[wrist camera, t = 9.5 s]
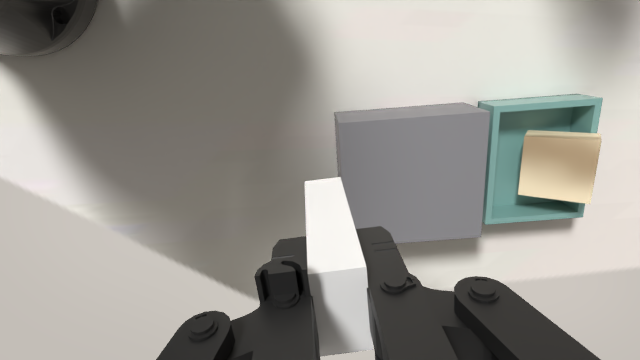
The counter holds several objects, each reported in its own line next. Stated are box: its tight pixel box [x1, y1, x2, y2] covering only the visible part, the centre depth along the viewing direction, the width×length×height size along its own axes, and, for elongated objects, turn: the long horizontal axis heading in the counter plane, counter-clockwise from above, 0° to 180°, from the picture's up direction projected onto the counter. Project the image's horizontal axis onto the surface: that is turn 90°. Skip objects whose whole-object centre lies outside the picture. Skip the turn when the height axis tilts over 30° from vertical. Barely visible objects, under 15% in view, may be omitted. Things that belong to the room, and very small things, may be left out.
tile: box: [518, 130, 601, 204], centre depth 37 cm, size 6×6×3 cm
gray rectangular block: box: [334, 103, 490, 244], centre depth 37 cm, size 12×13×6 cm
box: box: [478, 94, 603, 225], centre depth 38 cm, size 12×10×4 cm
